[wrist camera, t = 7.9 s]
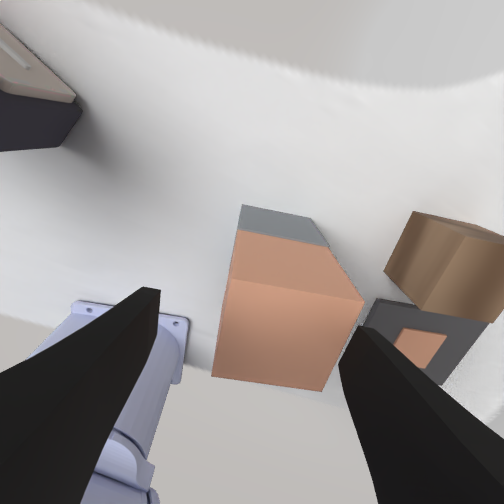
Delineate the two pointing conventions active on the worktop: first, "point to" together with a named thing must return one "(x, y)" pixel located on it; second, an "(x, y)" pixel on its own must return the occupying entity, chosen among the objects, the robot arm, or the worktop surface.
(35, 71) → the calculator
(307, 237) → the slate block
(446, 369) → the board
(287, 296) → the terracotta block
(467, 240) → the walnut block
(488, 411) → the worktop surface
